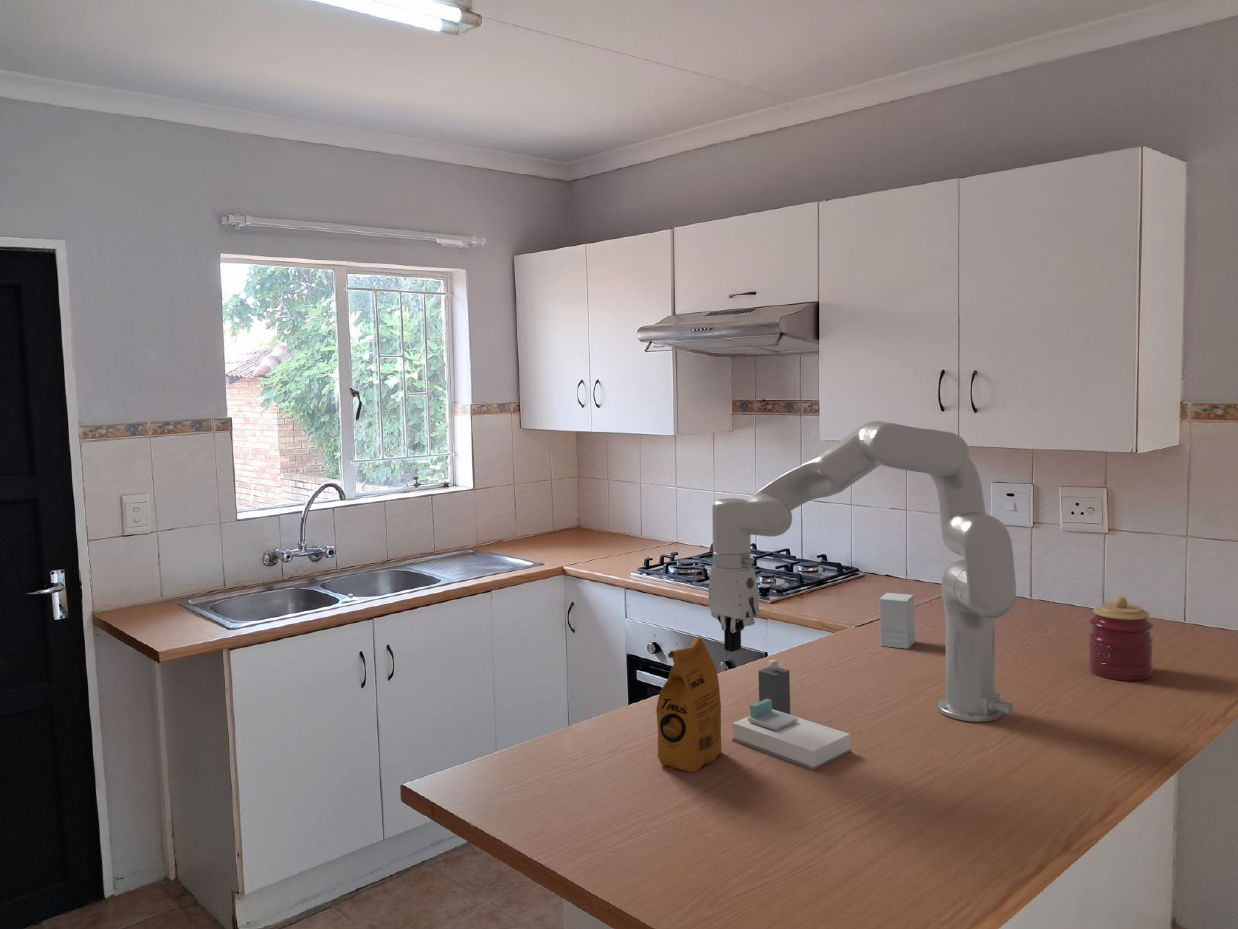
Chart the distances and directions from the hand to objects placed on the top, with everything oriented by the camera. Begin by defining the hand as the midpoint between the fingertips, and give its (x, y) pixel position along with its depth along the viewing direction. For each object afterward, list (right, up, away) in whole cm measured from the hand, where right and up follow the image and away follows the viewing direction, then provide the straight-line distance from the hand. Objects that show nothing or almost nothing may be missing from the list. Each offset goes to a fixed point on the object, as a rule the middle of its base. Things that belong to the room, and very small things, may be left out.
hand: (732, 649), depth 185 cm
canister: (+92, -11, +25) cm, 96 cm away
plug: (+10, -15, +6) cm, 19 cm away
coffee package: (-10, -18, -13) cm, 24 cm away
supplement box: (+49, -9, +53) cm, 73 cm away
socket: (+10, -17, -9) cm, 21 cm away
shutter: (+7, -13, -6) cm, 16 cm away
